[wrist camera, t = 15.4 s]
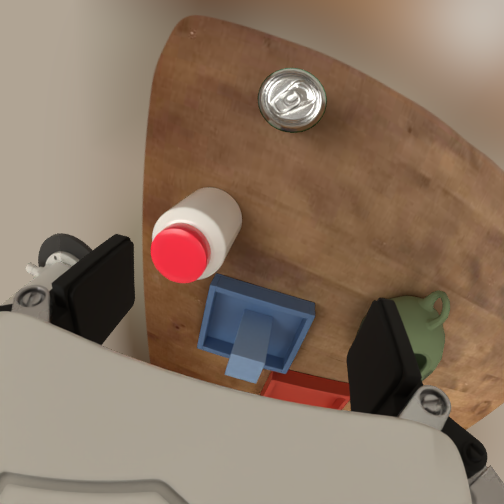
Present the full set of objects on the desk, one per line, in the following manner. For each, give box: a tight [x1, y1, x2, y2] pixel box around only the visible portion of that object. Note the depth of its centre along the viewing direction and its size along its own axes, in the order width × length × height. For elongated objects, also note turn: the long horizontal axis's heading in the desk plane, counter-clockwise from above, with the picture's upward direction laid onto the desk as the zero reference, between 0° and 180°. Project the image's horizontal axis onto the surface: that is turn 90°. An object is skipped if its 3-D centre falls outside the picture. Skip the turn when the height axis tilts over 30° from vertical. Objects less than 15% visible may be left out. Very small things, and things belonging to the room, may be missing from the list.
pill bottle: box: [151, 187, 242, 283], centre depth 32 cm, size 8×8×11 cm
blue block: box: [225, 309, 273, 383], centre depth 37 cm, size 4×4×9 cm
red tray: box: [260, 370, 350, 410], centre depth 46 cm, size 14×12×3 cm
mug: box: [357, 290, 450, 381], centre depth 34 cm, size 16×13×9 cm
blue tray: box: [197, 273, 315, 374], centre depth 41 cm, size 14×12×3 cm
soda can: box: [258, 68, 327, 133], centre depth 24 cm, size 5×5×12 cm
